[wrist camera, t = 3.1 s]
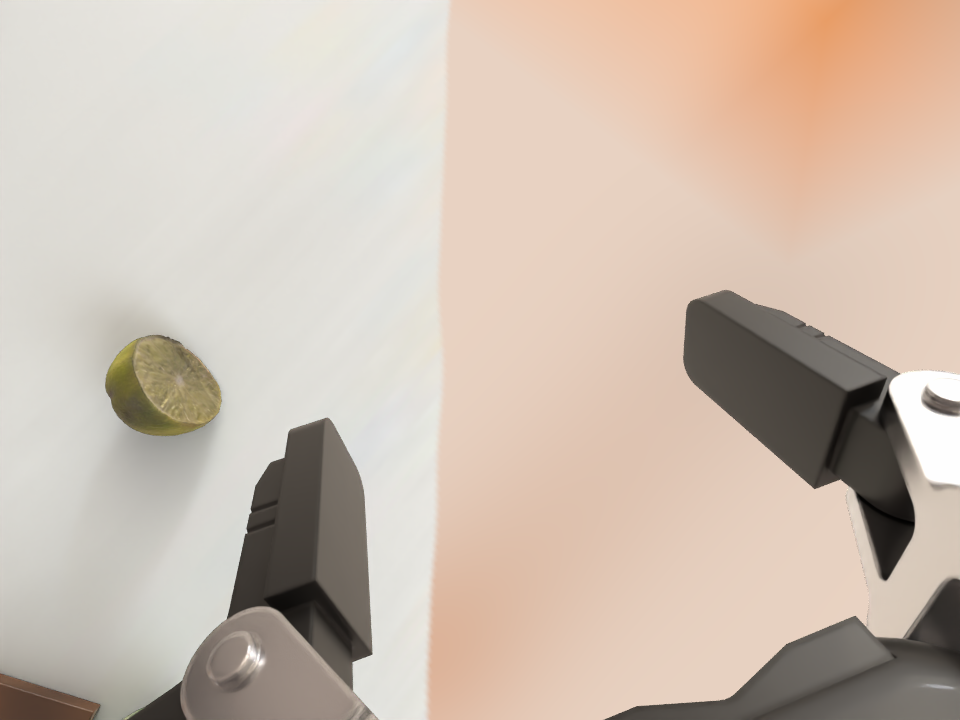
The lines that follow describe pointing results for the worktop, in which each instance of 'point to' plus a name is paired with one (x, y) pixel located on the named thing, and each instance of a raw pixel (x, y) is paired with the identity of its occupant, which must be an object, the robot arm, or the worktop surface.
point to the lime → (161, 387)
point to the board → (40, 703)
